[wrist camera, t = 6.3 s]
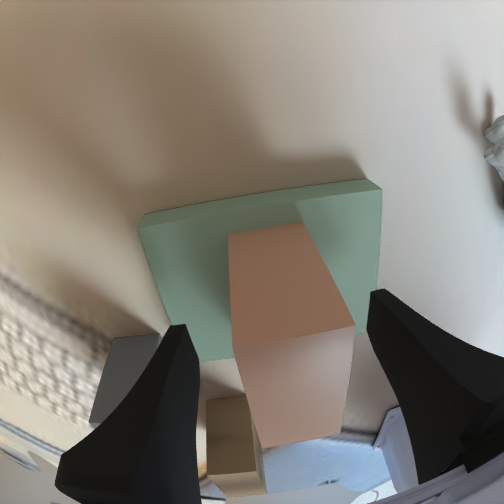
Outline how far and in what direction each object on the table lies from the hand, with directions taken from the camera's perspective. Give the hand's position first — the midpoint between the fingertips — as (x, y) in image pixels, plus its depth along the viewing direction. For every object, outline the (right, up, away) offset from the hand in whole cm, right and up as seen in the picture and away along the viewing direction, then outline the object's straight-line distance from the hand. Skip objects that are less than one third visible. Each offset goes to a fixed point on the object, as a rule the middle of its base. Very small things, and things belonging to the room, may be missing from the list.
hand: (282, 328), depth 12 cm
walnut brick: (-2, -10, +10) cm, 14 cm away
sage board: (0, +2, +3) cm, 4 cm away
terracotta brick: (0, +1, +2) cm, 3 cm away
